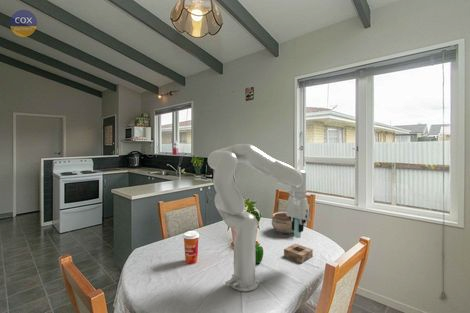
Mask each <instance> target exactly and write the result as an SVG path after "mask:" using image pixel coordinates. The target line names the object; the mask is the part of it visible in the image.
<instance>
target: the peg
mask: <svg viewBox="0 0 470 313" xmlns="http://www.w3.org/2000/svg"><path fill="white" fill-rule="evenodd" d="M299 224H300V221H299V219H298V218H294V232H293V235H294V236H293V237H294V238H296V239H300V238H301V237H302V232H298V231H299Z"/></svg>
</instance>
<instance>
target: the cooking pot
mask: <svg viewBox="0 0 470 313" xmlns="http://www.w3.org/2000/svg"><path fill="white" fill-rule="evenodd" d="M286 213H287V211H279V212H277V211H276V212H274V213H273V214H272V219H271V226H272V227H273V229H274V230H275V231H277V232H278V233H280V234H281V235H290V234H292V233H294V230H292V222H291V220H290V219H289V217H288V216H287V215H286Z"/></svg>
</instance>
